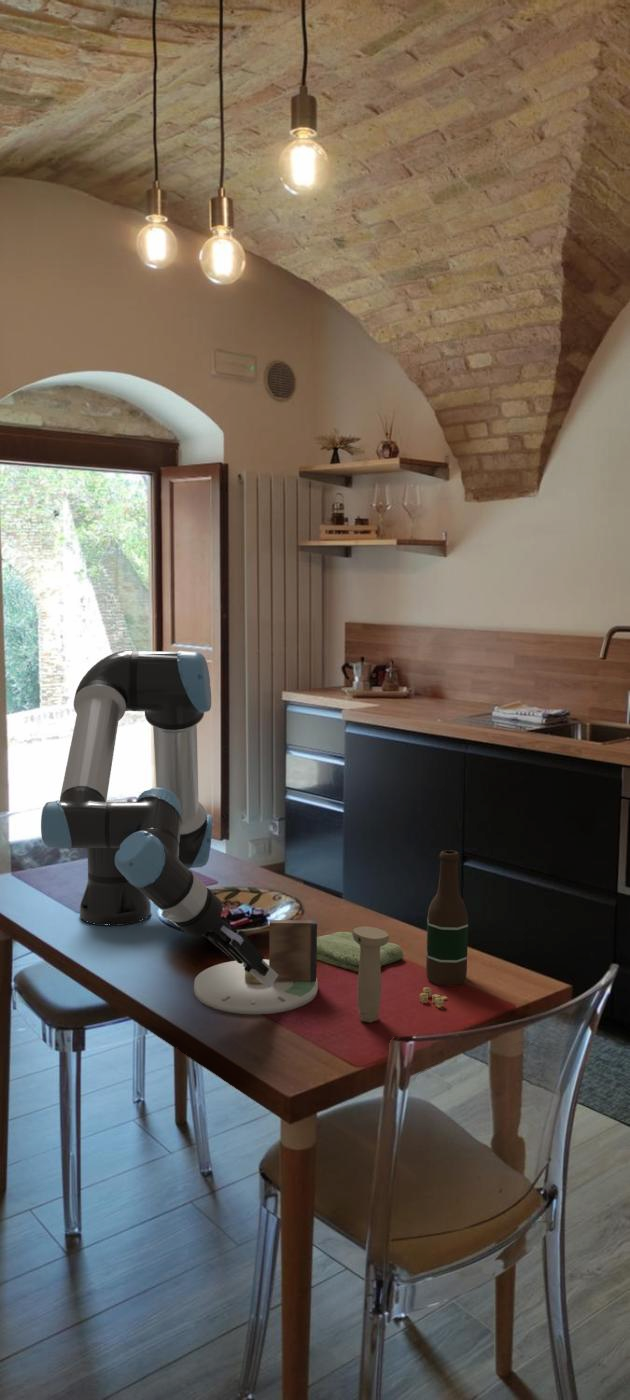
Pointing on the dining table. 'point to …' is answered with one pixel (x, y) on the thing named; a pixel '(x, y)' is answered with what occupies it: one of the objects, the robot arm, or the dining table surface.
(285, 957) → the wooden panel and knob
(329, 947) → the washcloth
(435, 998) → the dice set
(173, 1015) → the dining table surface
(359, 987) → the handle
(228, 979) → the dial
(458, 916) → the beer bottle
